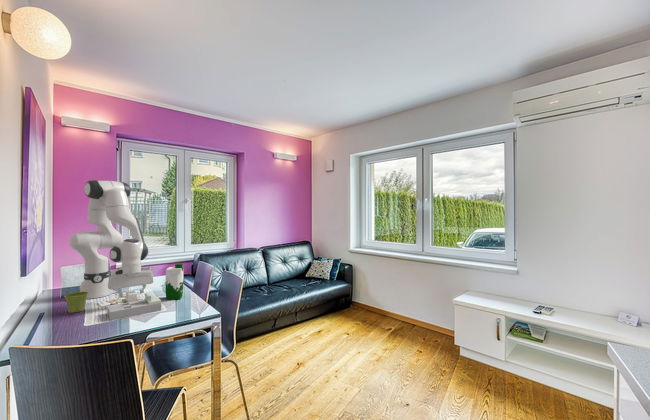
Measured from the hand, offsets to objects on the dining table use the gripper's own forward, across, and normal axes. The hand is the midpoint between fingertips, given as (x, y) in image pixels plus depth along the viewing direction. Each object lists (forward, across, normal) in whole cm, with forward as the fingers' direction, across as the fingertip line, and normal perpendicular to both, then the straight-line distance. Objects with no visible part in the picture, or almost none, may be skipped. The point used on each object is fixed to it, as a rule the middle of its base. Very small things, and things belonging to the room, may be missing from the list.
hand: (131, 294), depth 153 cm
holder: (+6, 0, -1) cm, 6 cm away
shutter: (+2, -7, +13) cm, 15 cm away
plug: (+6, 0, -1) cm, 6 cm away
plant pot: (+6, +22, -9) cm, 24 cm away
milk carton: (+6, -21, +1) cm, 22 cm away
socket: (+6, +1, +13) cm, 15 cm away
